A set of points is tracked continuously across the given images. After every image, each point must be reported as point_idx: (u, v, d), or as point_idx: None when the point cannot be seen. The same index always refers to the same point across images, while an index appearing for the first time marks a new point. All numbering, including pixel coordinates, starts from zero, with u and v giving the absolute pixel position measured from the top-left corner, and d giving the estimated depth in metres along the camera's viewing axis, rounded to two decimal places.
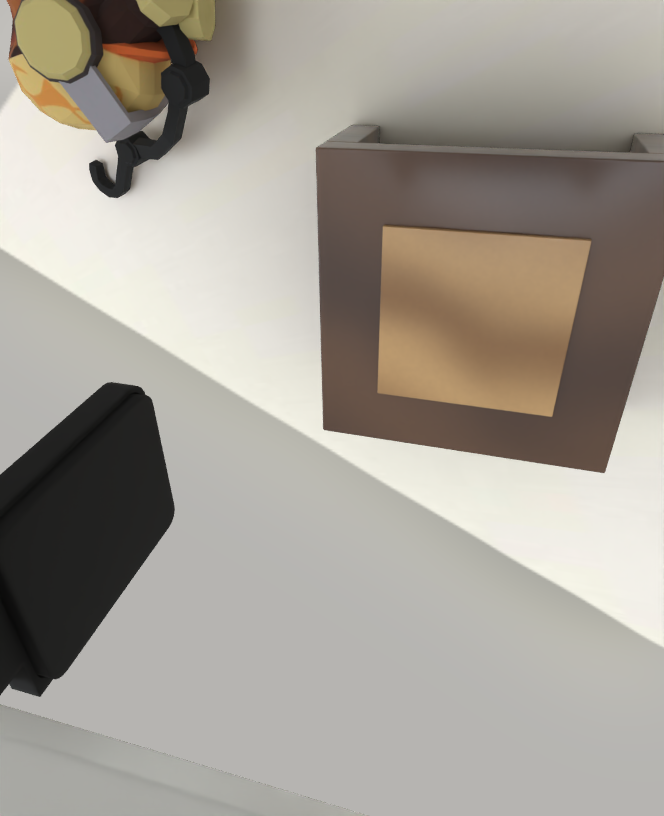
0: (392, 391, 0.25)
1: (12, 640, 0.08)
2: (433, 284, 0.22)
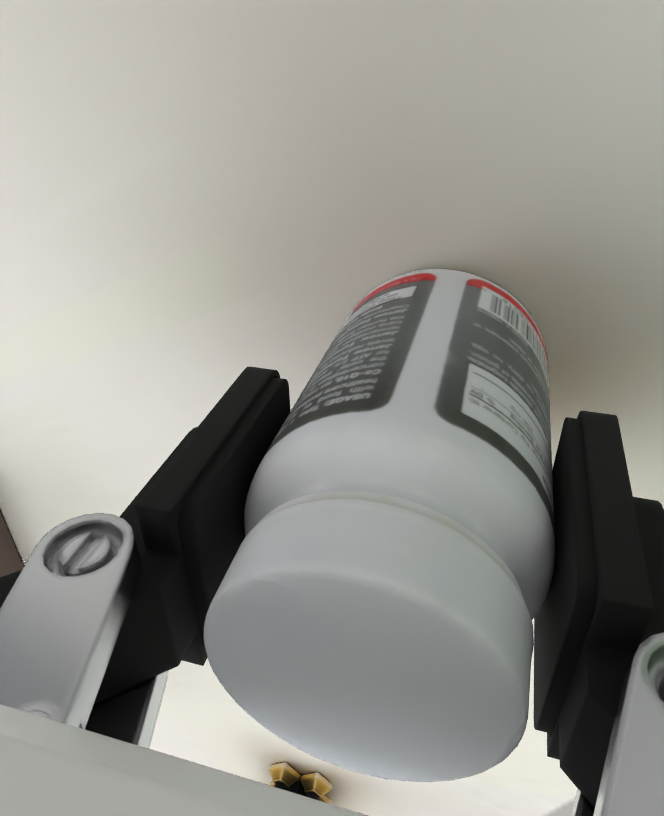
0: None
1: (190, 609, 0.09)
2: None
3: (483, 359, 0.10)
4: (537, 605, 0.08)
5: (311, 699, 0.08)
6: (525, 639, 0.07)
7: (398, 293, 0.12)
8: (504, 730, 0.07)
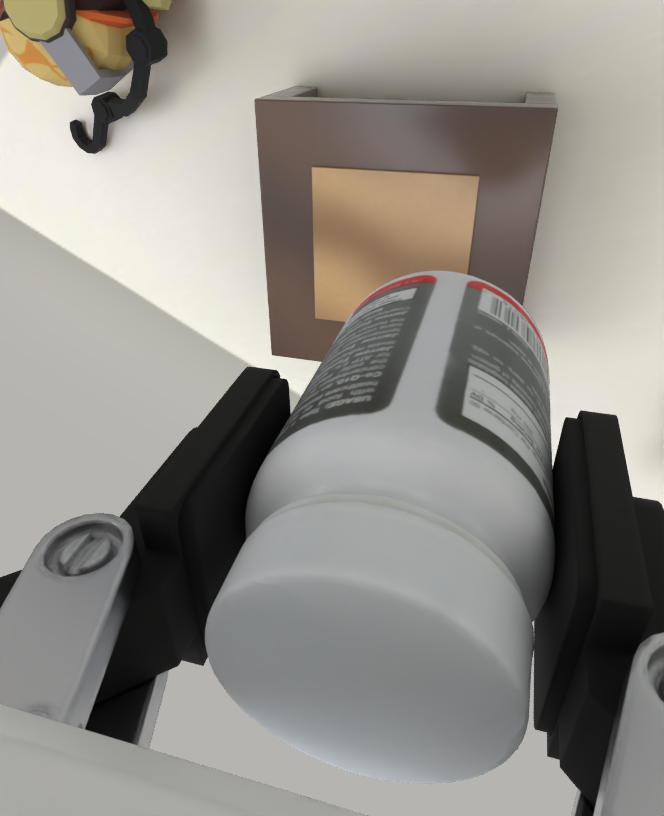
0: (327, 316, 0.29)
1: (190, 609, 0.09)
2: (355, 217, 0.26)
3: (483, 361, 0.10)
4: (537, 607, 0.08)
5: (312, 701, 0.08)
6: (525, 642, 0.07)
7: (398, 295, 0.12)
8: (504, 732, 0.07)
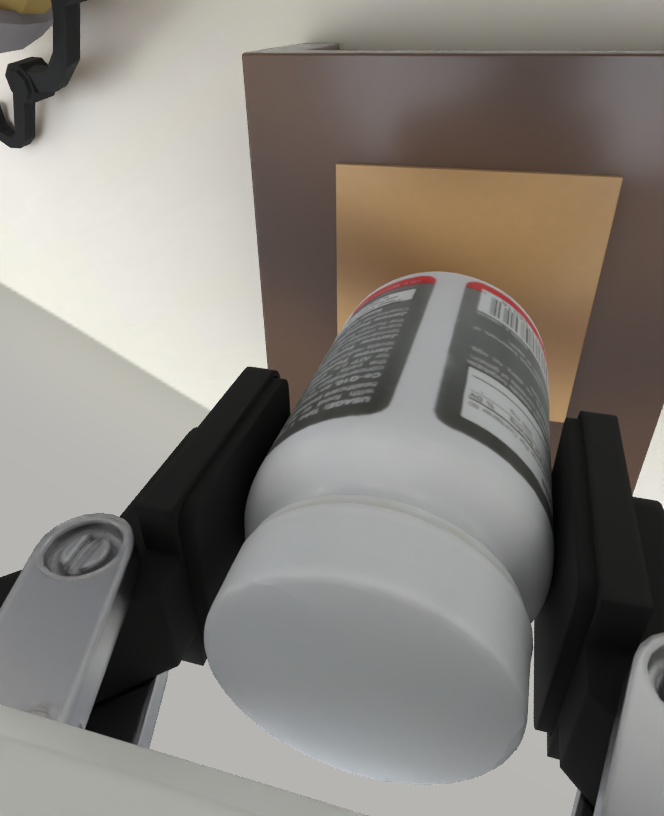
0: None
1: (190, 608, 0.09)
2: (405, 245, 0.16)
3: (483, 363, 0.10)
4: (536, 608, 0.08)
5: (311, 702, 0.08)
6: (524, 643, 0.07)
7: (398, 297, 0.12)
8: (503, 733, 0.07)
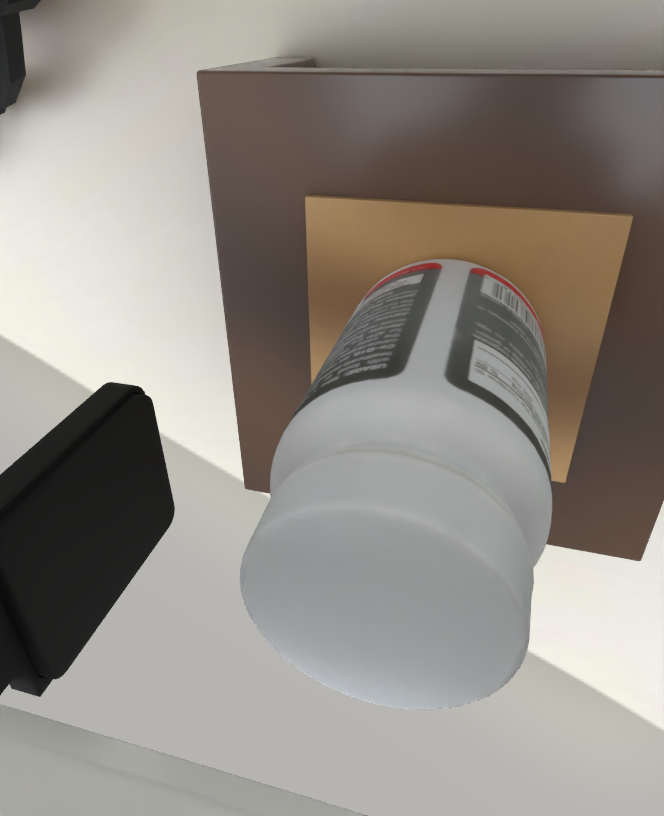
0: None
1: (12, 640, 0.08)
2: None
3: (486, 337, 0.11)
4: (536, 553, 0.09)
5: (336, 632, 0.09)
6: (526, 573, 0.08)
7: (407, 281, 0.13)
8: (508, 652, 0.08)
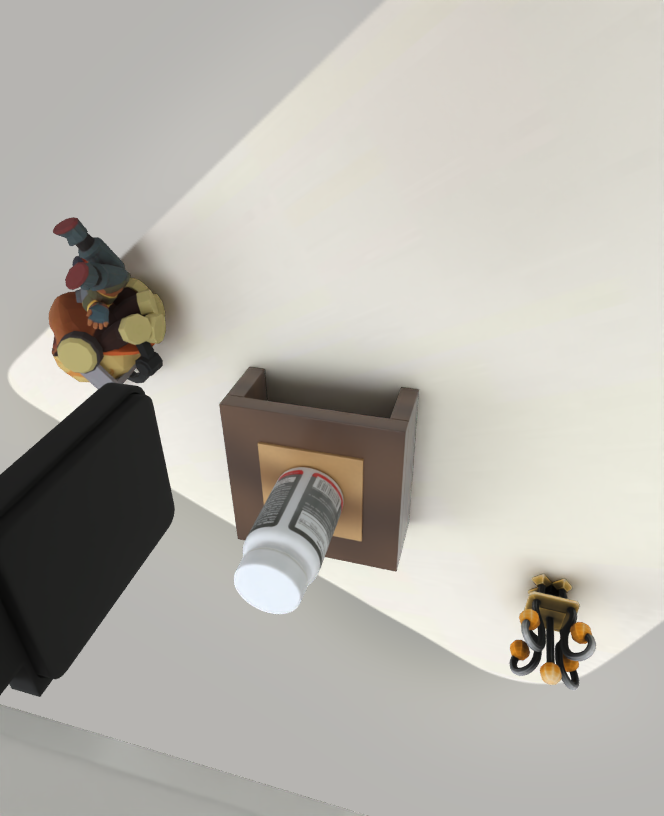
0: None
1: (12, 639, 0.08)
2: None
3: (307, 508, 0.36)
4: (314, 572, 0.35)
5: (258, 593, 0.34)
6: (301, 578, 0.33)
7: (290, 479, 0.38)
8: (296, 597, 0.33)
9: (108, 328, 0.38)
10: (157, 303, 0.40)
